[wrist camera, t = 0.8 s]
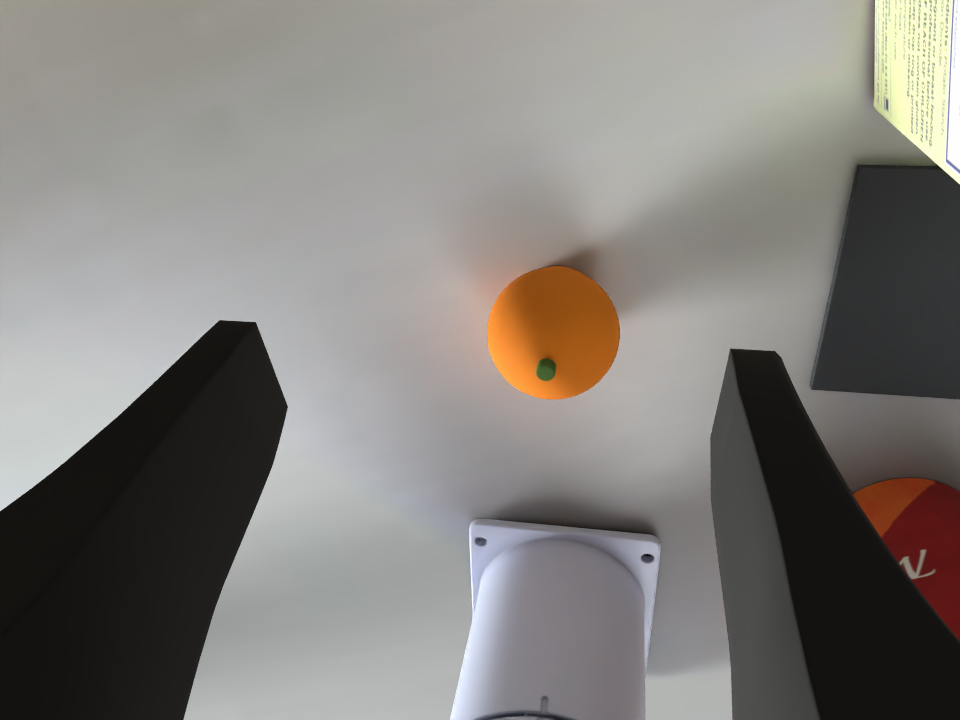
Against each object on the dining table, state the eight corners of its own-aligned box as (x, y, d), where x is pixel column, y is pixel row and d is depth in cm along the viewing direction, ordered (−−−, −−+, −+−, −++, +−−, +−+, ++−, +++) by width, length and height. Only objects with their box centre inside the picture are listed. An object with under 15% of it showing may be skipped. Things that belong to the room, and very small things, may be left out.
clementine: (617, 361, 29) (613, 438, 25) (498, 353, 30) (476, 427, 26) (625, 249, 27) (622, 313, 23) (496, 244, 28) (472, 305, 24)
